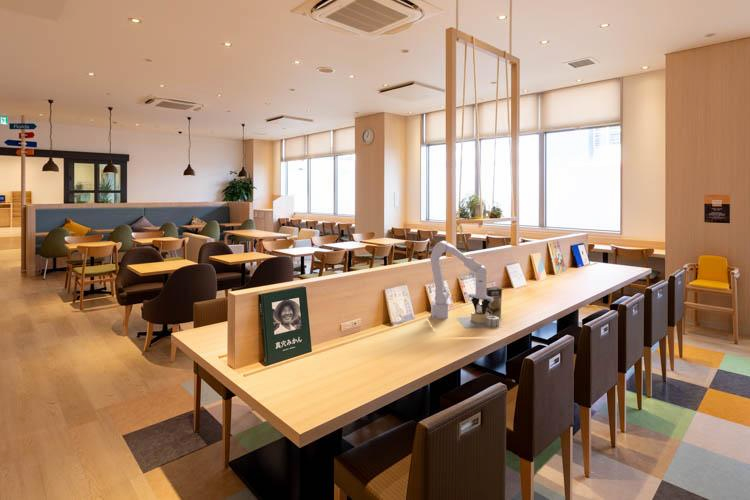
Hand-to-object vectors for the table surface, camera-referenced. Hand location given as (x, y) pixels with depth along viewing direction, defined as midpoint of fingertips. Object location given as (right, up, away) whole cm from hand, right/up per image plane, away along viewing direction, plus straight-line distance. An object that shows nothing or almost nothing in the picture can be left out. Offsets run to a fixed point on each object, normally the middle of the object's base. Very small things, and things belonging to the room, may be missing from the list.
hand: (480, 312), depth 250 cm
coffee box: (+9, -4, +13) cm, 17 cm away
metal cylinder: (0, -2, 0) cm, 2 cm away
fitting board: (-2, -6, -3) cm, 7 cm away
